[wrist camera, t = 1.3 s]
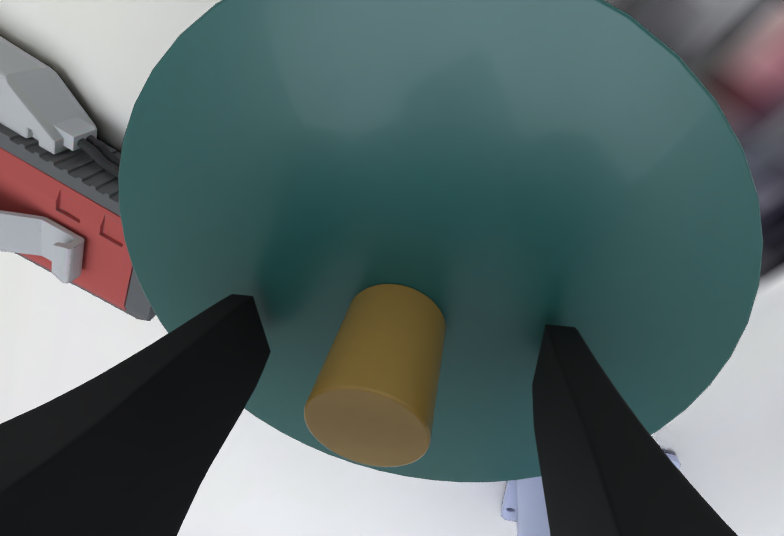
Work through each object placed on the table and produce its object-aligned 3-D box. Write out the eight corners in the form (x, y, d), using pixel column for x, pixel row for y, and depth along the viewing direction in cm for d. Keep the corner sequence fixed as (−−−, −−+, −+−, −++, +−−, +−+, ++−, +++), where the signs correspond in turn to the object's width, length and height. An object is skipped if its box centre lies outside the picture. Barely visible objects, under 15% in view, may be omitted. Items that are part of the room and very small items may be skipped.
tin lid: (623, 484, 14) (665, 643, 11) (234, 420, 17) (169, 528, 14) (936, -92, 5) (1687, -226, 2) (35, -20, 8) (-277, -23, 5)
